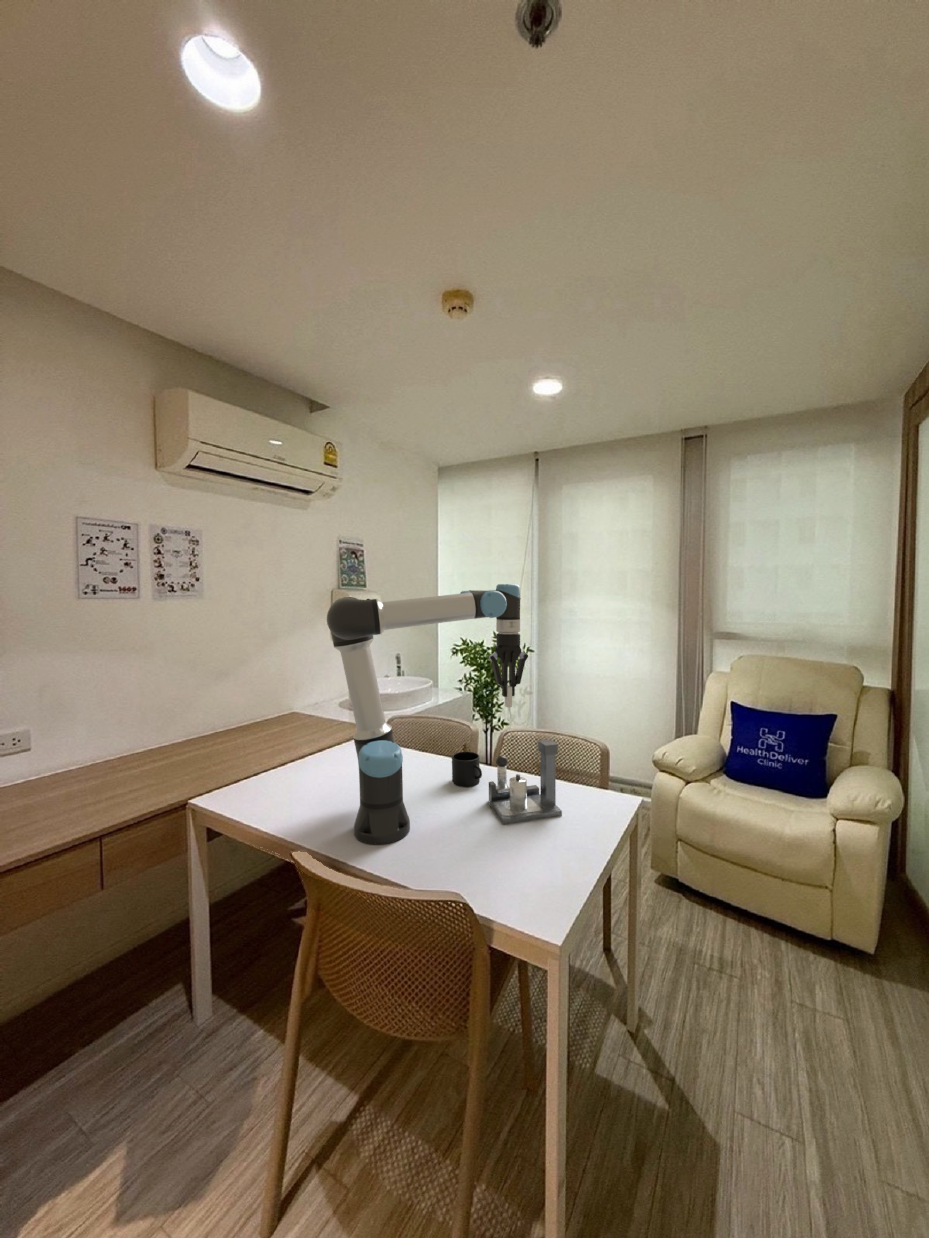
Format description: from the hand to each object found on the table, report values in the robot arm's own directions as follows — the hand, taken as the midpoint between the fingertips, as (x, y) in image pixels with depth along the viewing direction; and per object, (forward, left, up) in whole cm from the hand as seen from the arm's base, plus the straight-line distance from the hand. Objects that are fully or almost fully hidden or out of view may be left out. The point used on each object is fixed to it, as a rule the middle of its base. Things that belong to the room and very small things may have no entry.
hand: (508, 706), depth 153 cm
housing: (-2, -13, -27) cm, 30 cm away
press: (0, -12, -29) cm, 31 cm away
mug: (-10, +12, -29) cm, 33 cm away
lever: (-4, -4, -25) cm, 26 cm away
